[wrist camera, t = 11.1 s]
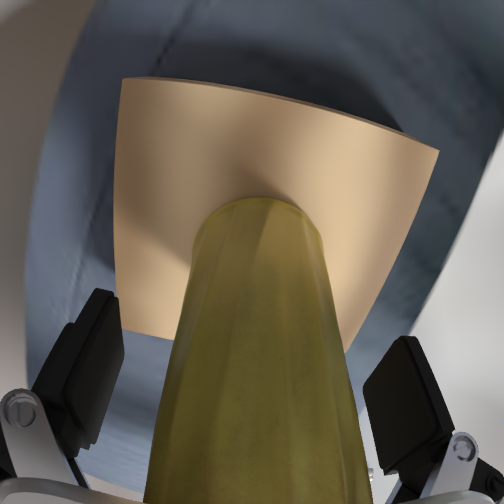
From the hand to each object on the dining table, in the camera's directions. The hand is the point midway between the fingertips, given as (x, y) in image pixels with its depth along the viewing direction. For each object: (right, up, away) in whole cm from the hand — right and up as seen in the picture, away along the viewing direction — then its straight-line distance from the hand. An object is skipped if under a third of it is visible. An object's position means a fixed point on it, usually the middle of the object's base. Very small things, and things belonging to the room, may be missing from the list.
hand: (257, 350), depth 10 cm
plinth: (0, +5, +8) cm, 10 cm away
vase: (0, +3, +5) cm, 6 cm away
